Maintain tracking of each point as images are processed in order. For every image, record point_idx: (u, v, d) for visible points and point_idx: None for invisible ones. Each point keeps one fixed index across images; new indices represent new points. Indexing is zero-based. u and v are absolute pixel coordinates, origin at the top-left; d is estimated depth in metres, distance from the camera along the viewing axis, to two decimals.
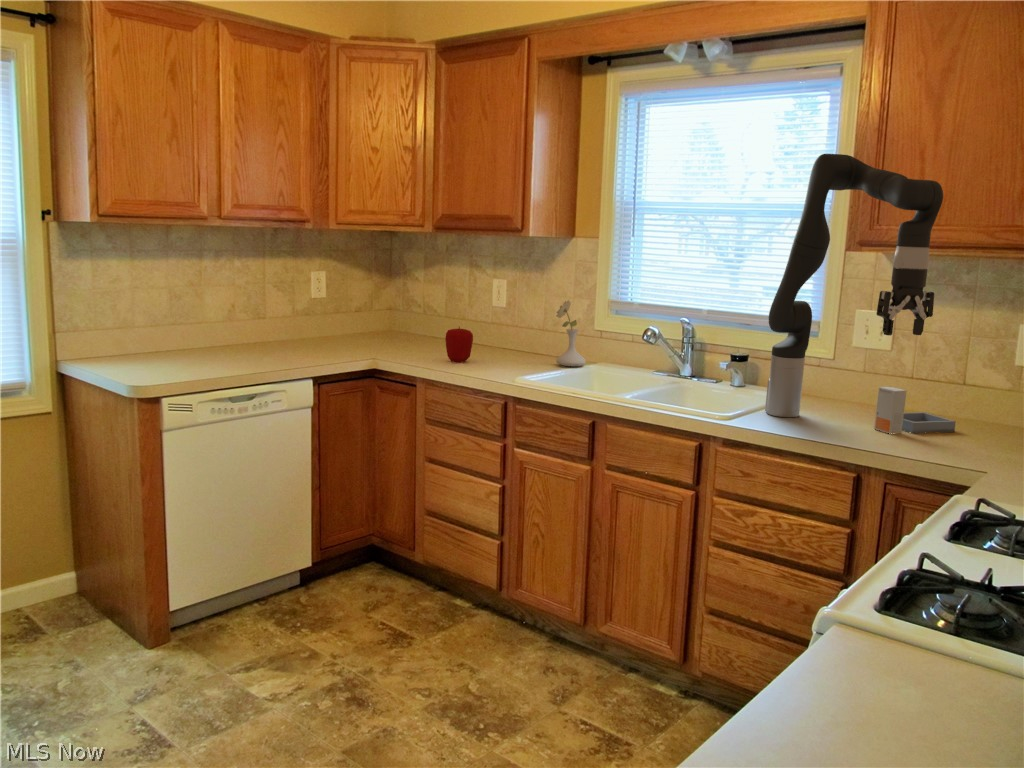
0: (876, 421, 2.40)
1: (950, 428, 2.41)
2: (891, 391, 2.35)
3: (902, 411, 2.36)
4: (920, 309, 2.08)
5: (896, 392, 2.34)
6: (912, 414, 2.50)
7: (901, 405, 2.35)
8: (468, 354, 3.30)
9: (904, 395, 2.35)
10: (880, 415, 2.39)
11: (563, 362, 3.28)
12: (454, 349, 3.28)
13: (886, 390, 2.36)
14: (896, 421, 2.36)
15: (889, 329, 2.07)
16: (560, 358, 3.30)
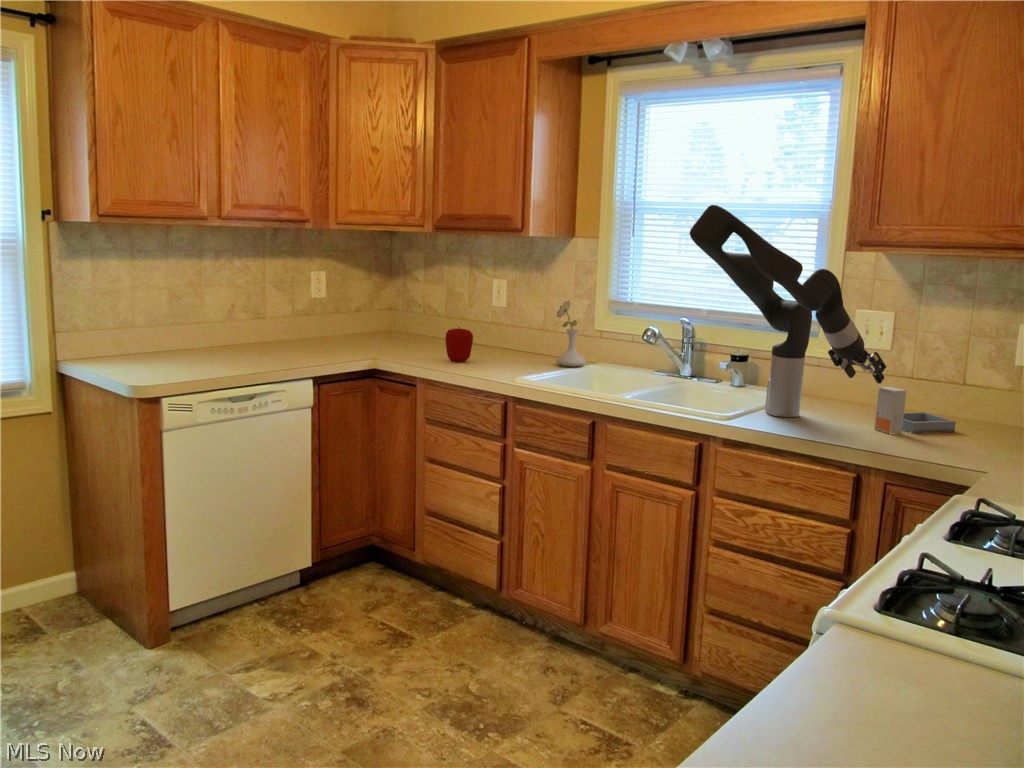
0: (876, 421, 2.40)
1: (950, 428, 2.41)
2: (891, 391, 2.35)
3: (902, 411, 2.36)
4: None
5: (896, 392, 2.34)
6: (912, 414, 2.50)
7: (901, 405, 2.35)
8: (468, 354, 3.30)
9: (904, 395, 2.35)
10: (880, 415, 2.39)
11: (563, 362, 3.28)
12: (454, 349, 3.28)
13: (886, 390, 2.36)
14: (896, 421, 2.36)
15: None
16: (560, 358, 3.30)
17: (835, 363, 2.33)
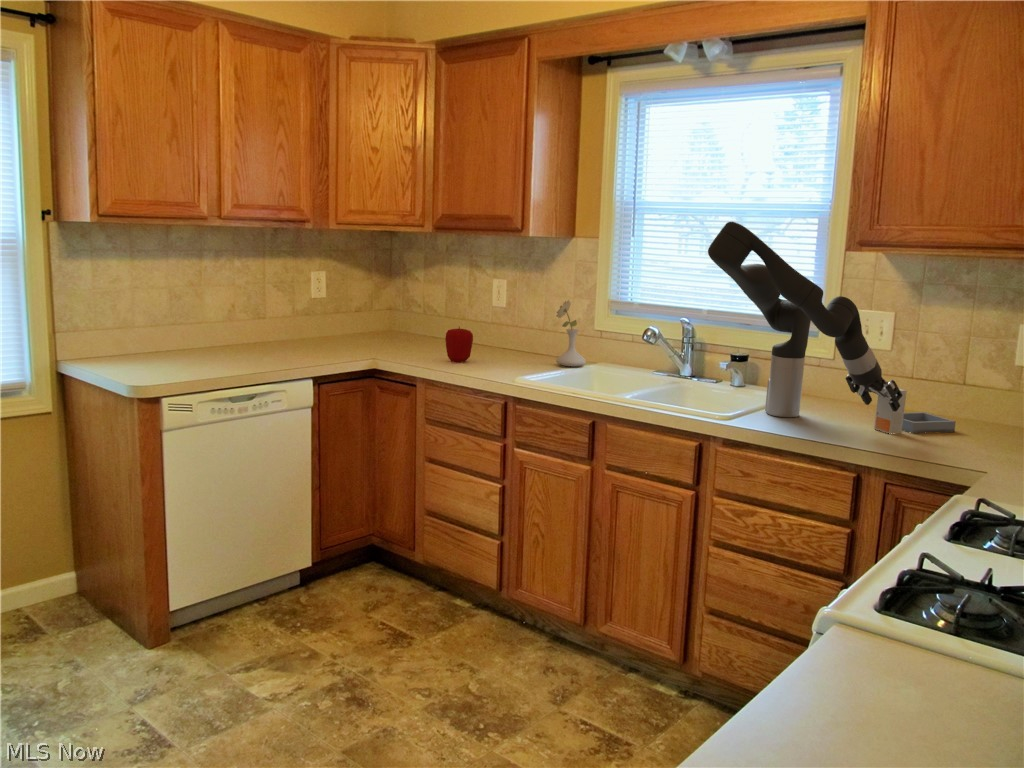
0: (876, 421, 2.40)
1: (950, 428, 2.41)
2: None
3: (902, 411, 2.36)
4: None
5: None
6: (912, 414, 2.50)
7: (901, 405, 2.35)
8: (468, 354, 3.30)
9: (904, 395, 2.35)
10: (880, 415, 2.39)
11: (563, 362, 3.28)
12: (454, 349, 3.28)
13: None
14: (896, 421, 2.36)
15: None
16: (560, 358, 3.30)
17: (852, 389, 2.37)
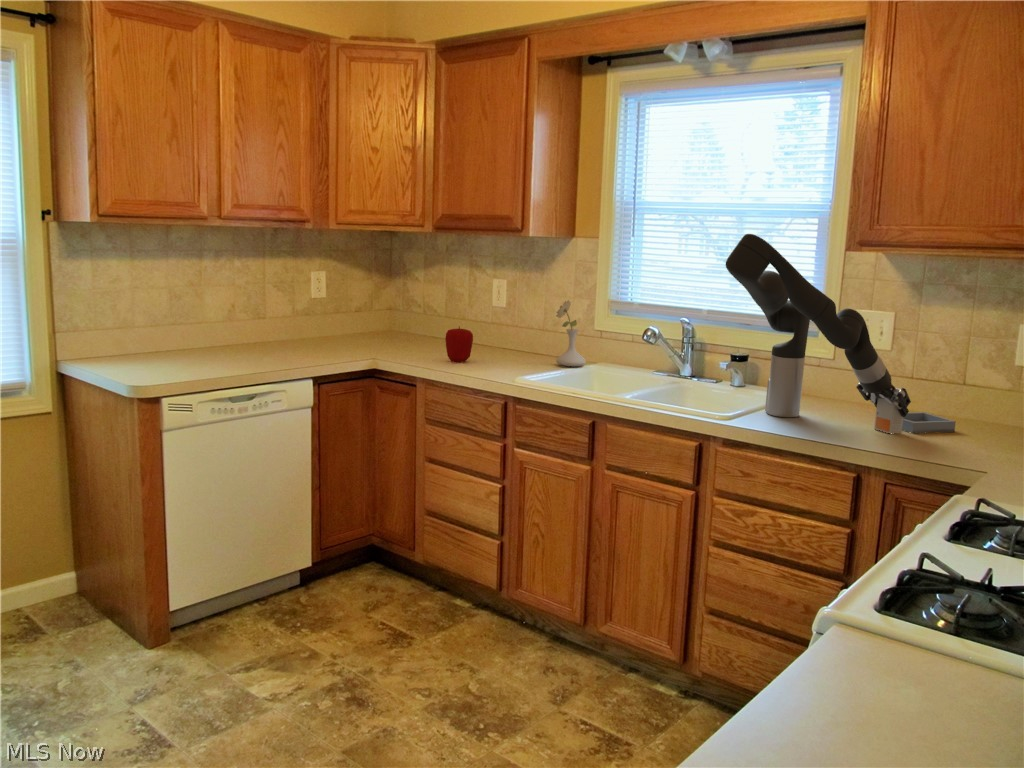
0: (876, 421, 2.40)
1: (950, 428, 2.41)
2: None
3: None
4: None
5: None
6: (912, 414, 2.50)
7: None
8: (468, 354, 3.30)
9: None
10: (880, 415, 2.39)
11: (563, 362, 3.28)
12: (454, 349, 3.28)
13: None
14: (896, 420, 2.36)
15: (906, 409, 2.35)
16: (560, 358, 3.30)
17: (865, 397, 2.41)
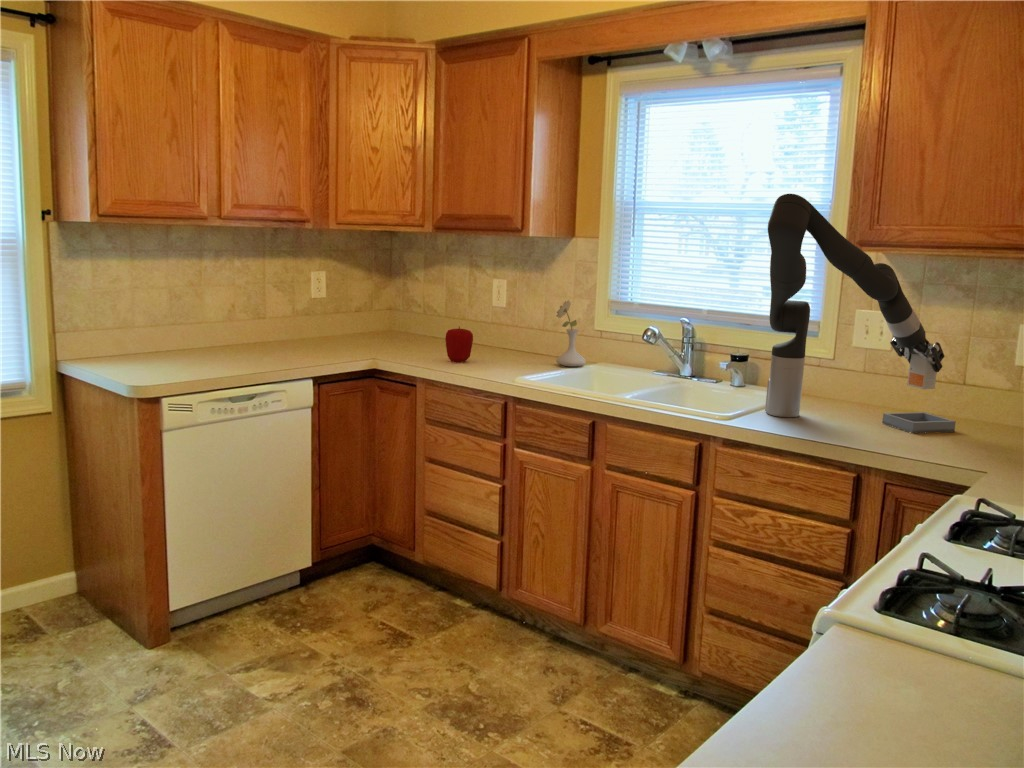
0: (909, 377, 2.43)
1: (950, 428, 2.41)
2: None
3: None
4: None
5: None
6: (912, 414, 2.50)
7: None
8: (468, 354, 3.30)
9: None
10: (913, 370, 2.42)
11: (563, 362, 3.28)
12: (454, 349, 3.28)
13: None
14: (930, 376, 2.39)
15: None
16: (560, 358, 3.30)
17: (899, 353, 2.44)
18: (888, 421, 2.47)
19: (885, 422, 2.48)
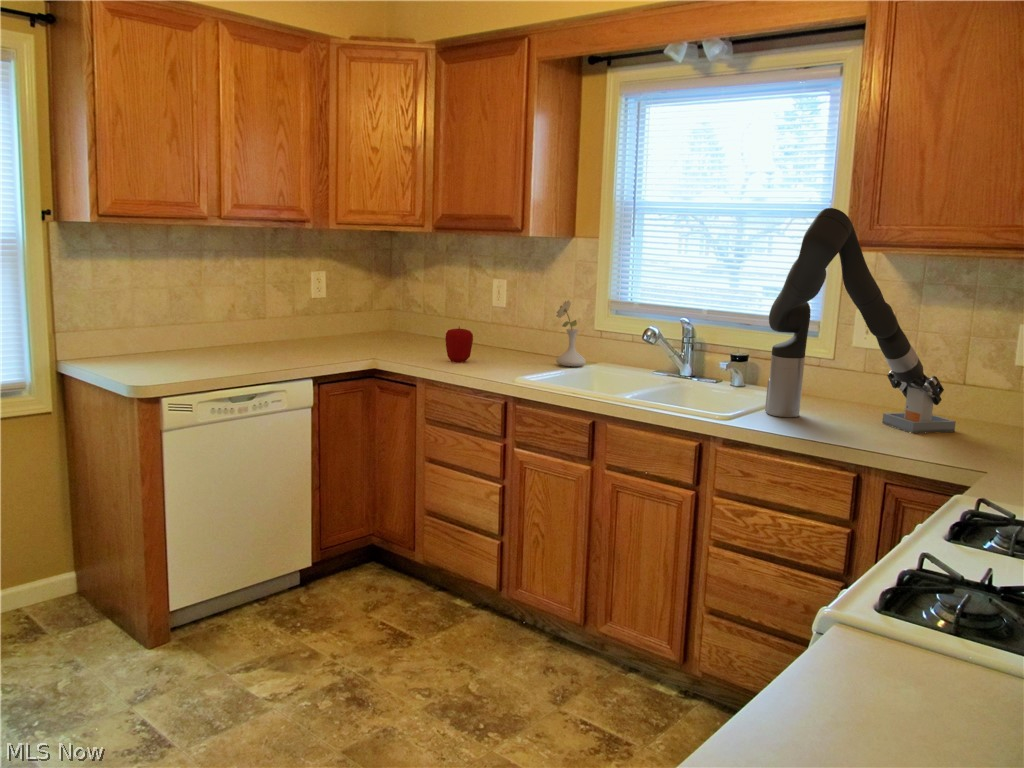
0: (905, 414, 2.46)
1: (950, 428, 2.41)
2: None
3: (931, 405, 2.42)
4: None
5: None
6: None
7: (930, 399, 2.42)
8: (468, 354, 3.30)
9: None
10: (909, 409, 2.45)
11: (563, 362, 3.28)
12: (454, 349, 3.28)
13: None
14: (926, 414, 2.42)
15: None
16: (560, 358, 3.30)
17: (893, 385, 2.47)
18: (888, 421, 2.47)
19: (885, 422, 2.48)
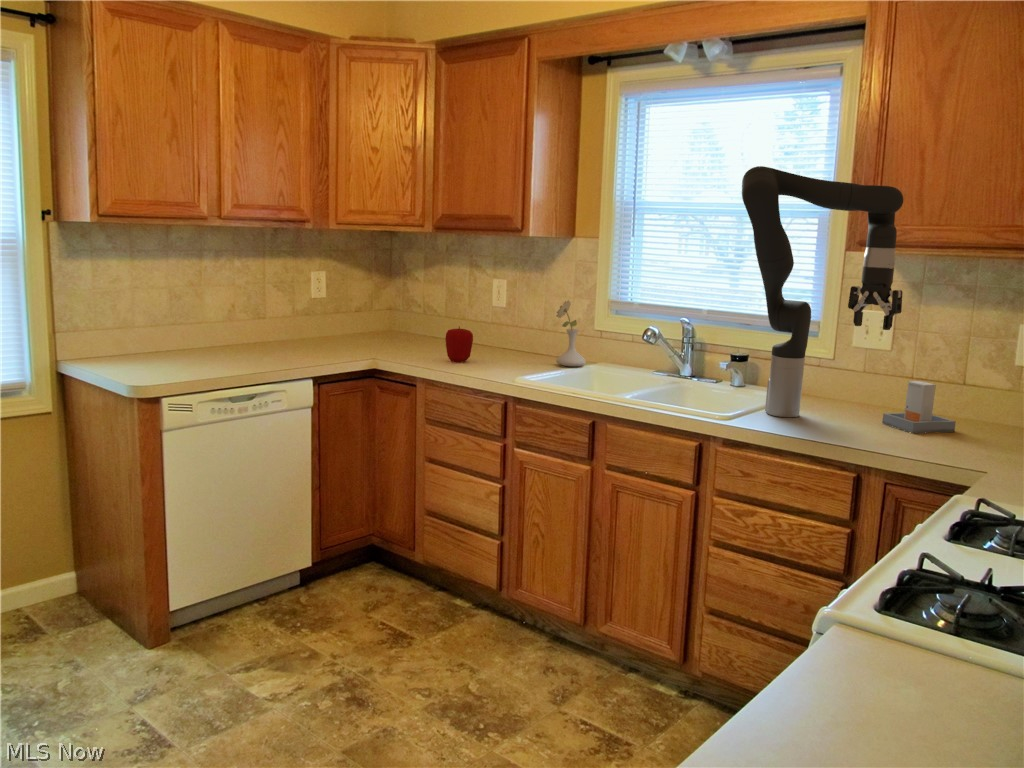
0: (905, 414, 2.46)
1: (950, 428, 2.41)
2: (921, 385, 2.41)
3: (931, 405, 2.42)
4: None
5: (926, 386, 2.40)
6: None
7: (930, 399, 2.42)
8: (468, 354, 3.30)
9: (933, 389, 2.41)
10: (909, 409, 2.45)
11: (563, 362, 3.28)
12: (454, 349, 3.28)
13: (916, 384, 2.43)
14: (926, 414, 2.42)
15: None
16: (560, 358, 3.30)
17: (850, 304, 2.34)
18: (888, 421, 2.47)
19: (885, 422, 2.48)
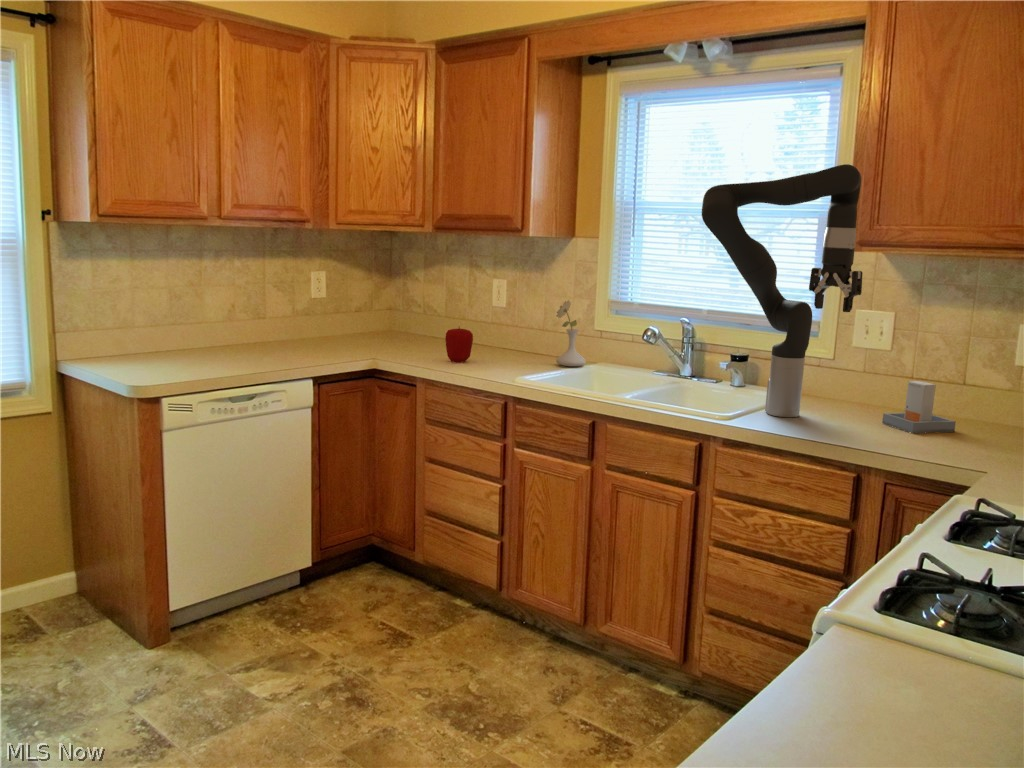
0: (905, 414, 2.46)
1: (950, 428, 2.41)
2: (921, 385, 2.41)
3: (931, 405, 2.42)
4: None
5: (926, 386, 2.40)
6: None
7: (930, 399, 2.42)
8: (468, 354, 3.30)
9: (933, 389, 2.41)
10: (909, 409, 2.45)
11: (563, 362, 3.28)
12: (454, 349, 3.28)
13: (916, 384, 2.43)
14: (926, 414, 2.42)
15: (850, 306, 2.21)
16: (560, 358, 3.30)
17: (811, 286, 2.29)
18: (888, 421, 2.47)
19: (885, 422, 2.48)
